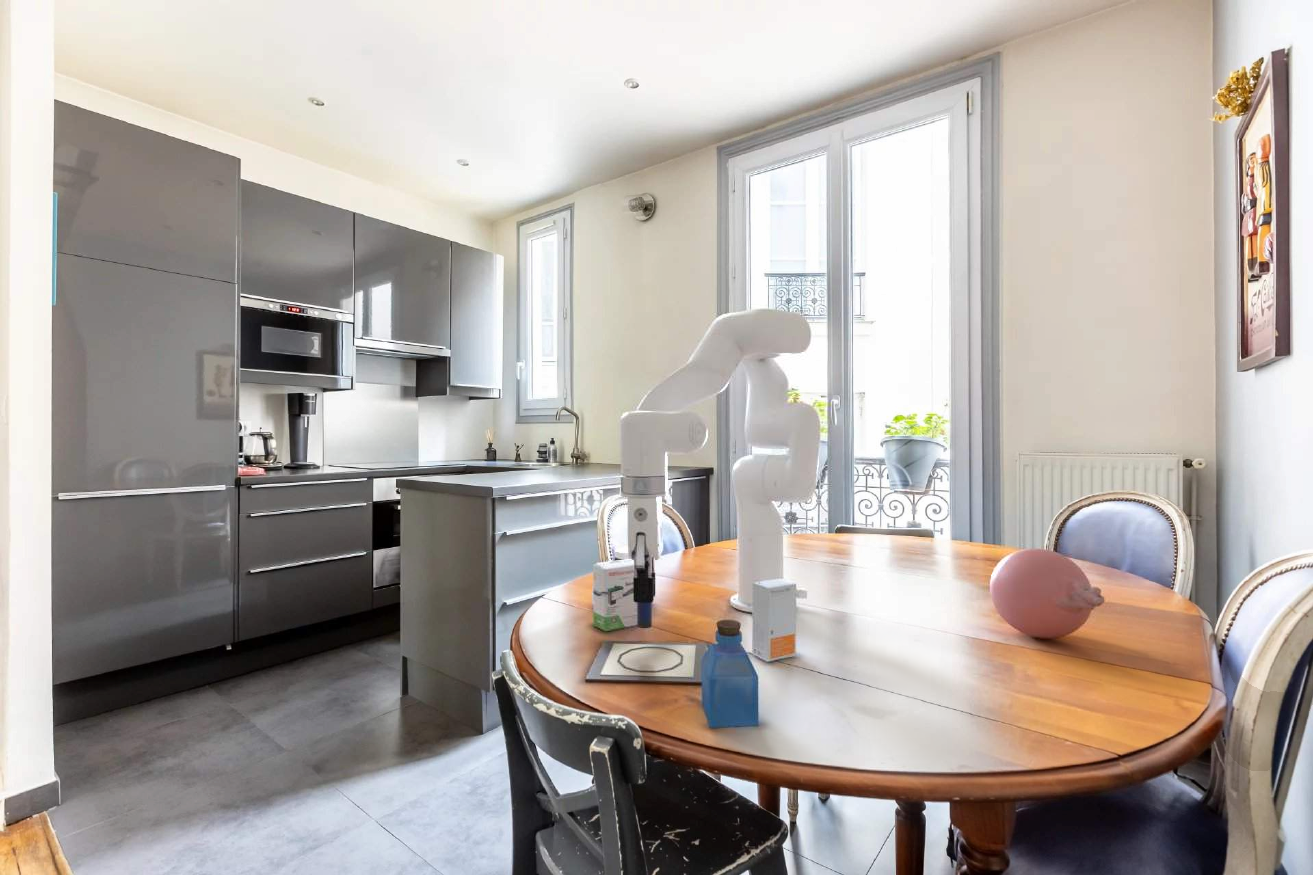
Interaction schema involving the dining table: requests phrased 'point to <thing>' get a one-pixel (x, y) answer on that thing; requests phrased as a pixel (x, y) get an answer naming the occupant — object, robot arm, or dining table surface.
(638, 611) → the marker
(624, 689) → the dining table surface
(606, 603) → the ink box
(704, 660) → the perfume bottle
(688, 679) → the drawing board
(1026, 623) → the balloon
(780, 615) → the cosmetic box
